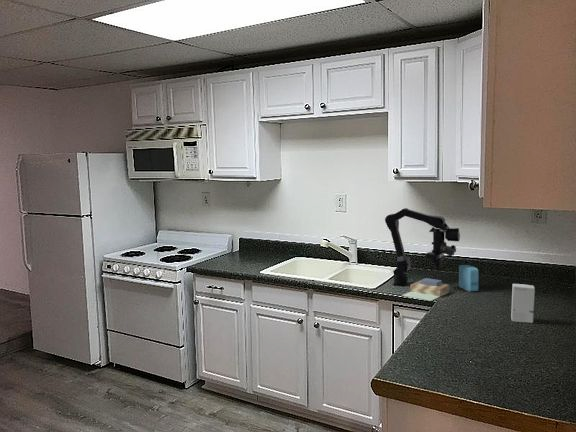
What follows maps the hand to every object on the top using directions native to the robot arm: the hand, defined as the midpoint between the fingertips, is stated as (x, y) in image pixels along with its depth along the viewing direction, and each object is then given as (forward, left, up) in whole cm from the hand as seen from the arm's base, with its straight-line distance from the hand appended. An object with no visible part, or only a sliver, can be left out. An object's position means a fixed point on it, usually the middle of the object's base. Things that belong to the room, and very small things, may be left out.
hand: (438, 269), depth 259 cm
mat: (0, -20, -10) cm, 23 cm away
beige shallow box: (0, -10, -10) cm, 15 cm away
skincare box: (+51, -30, -10) cm, 60 cm away
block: (0, -9, -6) cm, 11 cm away
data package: (+13, +7, -10) cm, 18 cm away
